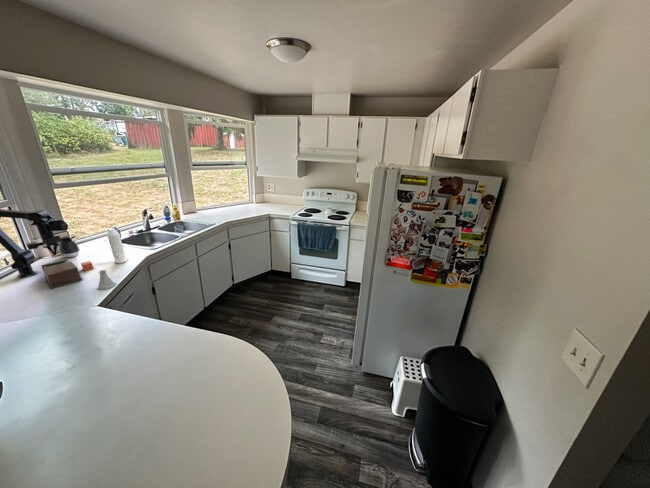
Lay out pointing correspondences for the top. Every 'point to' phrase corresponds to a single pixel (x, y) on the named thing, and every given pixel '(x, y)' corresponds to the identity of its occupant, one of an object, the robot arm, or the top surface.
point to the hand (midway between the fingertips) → (55, 255)
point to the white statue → (116, 246)
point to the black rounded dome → (69, 248)
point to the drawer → (54, 263)
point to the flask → (105, 280)
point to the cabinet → (61, 274)
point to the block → (87, 266)
